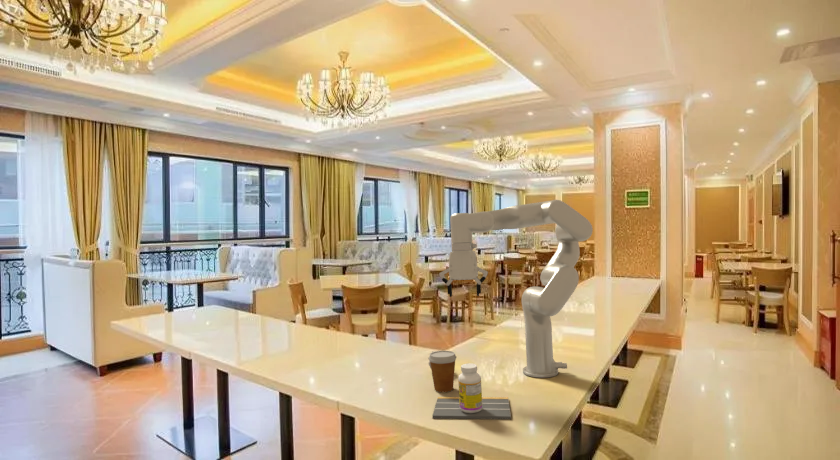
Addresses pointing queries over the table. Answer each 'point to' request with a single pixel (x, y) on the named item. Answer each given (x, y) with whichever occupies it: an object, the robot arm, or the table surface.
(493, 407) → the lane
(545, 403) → the table surface
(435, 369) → the disposable coffee cup
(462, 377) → the supplement bottle
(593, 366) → the table surface
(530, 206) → the robot arm
